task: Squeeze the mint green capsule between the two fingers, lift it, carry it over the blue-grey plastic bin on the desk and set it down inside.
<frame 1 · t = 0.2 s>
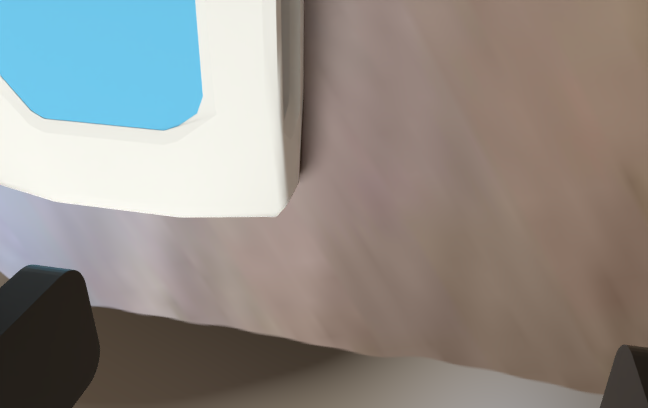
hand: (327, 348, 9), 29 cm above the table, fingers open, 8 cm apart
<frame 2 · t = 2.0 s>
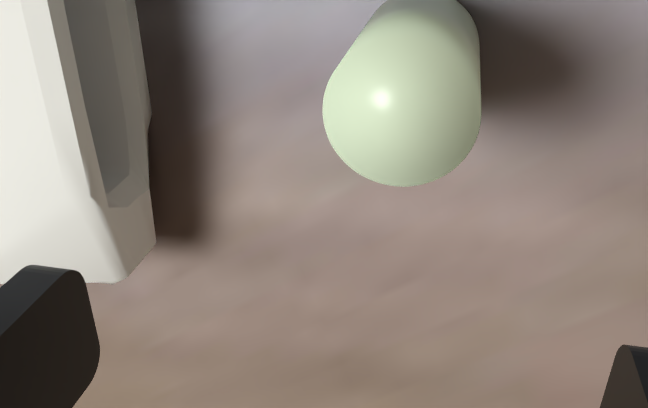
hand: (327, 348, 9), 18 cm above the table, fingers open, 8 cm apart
mint green capsule: (419, 50, 24), on the table
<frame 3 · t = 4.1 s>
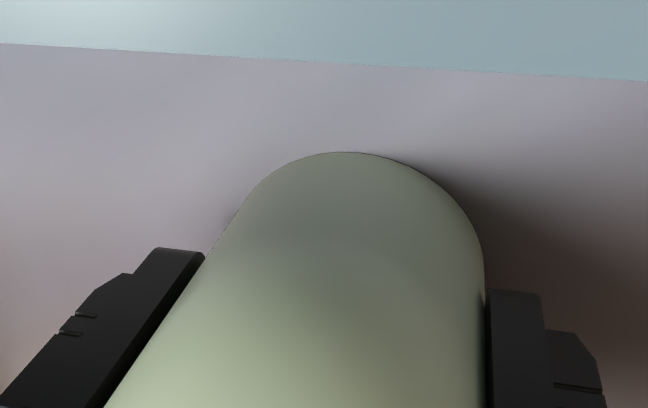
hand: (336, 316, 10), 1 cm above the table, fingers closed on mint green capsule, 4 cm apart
mint green capsule: (352, 269, 11), on the table, touching gripper
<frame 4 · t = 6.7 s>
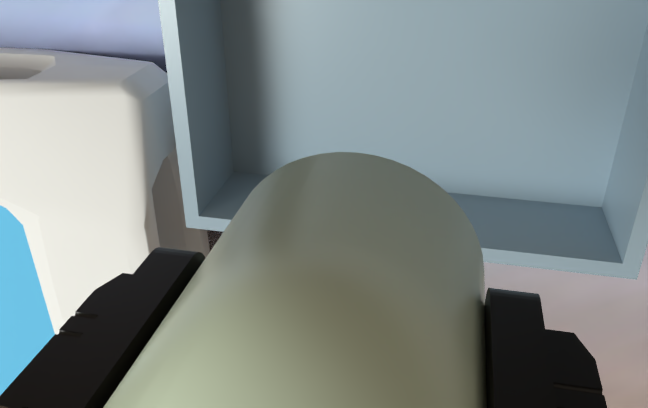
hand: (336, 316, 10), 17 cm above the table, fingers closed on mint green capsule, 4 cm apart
mint green capsule: (352, 269, 11), point 16 cm above the table, touching gripper
bin: (419, 46, 25), on the table
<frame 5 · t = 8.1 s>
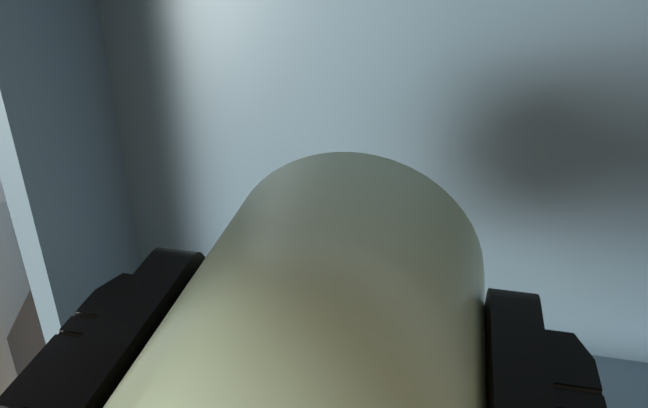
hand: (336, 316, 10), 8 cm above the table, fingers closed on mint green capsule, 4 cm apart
mint green capsule: (352, 268, 11), point 7 cm above the table, touching gripper
bin: (400, 134, 17), on the table
when the fingers open (5 cm above the table, at t = 9.2 s): mint green capsule drops 3 cm, resting on bin.
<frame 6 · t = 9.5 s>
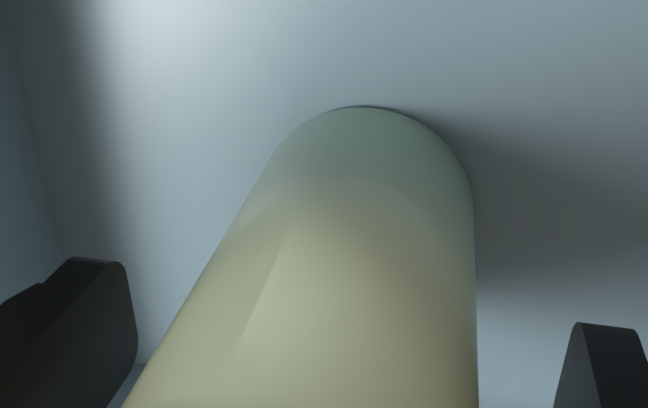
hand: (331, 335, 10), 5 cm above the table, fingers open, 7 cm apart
mint green capsule: (365, 206, 13), point 1 cm above the table, touching bin
bin: (376, 184, 14), on the table
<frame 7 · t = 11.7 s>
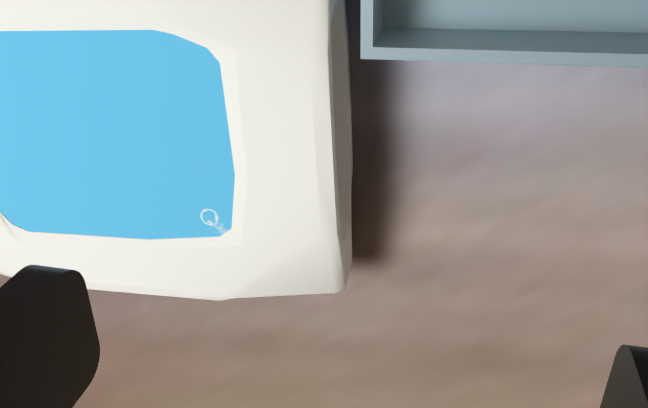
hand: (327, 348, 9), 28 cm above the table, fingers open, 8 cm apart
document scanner: (142, 105, 40), on the table
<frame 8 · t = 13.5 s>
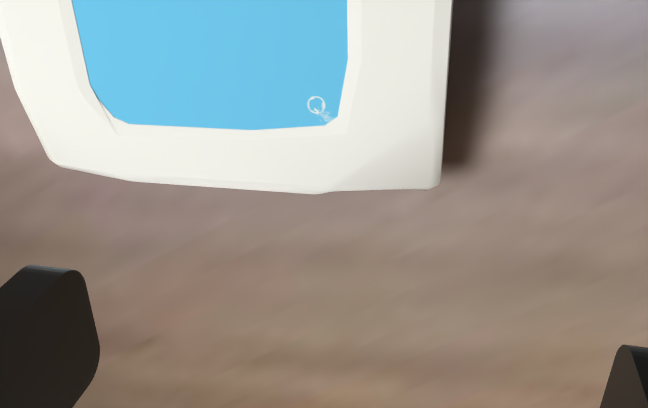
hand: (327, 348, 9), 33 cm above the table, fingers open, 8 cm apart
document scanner: (240, 6, 41), on the table
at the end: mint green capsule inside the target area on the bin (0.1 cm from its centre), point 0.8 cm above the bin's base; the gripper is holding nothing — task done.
